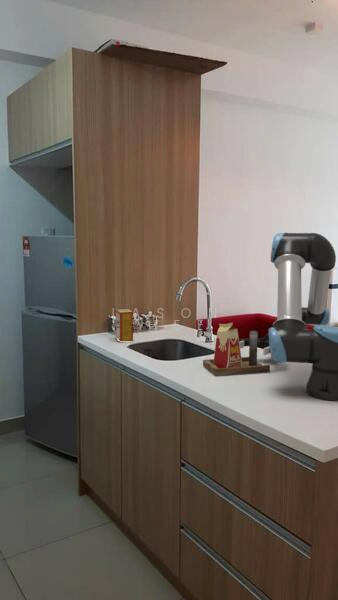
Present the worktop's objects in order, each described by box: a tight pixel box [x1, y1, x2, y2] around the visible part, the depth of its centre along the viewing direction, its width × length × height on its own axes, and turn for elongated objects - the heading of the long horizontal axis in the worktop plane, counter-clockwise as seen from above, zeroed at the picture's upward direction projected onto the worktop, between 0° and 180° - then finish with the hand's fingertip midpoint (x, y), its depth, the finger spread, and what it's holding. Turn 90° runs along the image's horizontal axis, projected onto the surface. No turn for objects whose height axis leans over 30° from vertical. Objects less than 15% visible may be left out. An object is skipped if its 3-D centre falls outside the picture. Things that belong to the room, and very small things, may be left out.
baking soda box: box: [115, 308, 134, 342], centre depth 247 cm, size 10×6×16 cm
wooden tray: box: [202, 330, 271, 377], centre depth 196 cm, size 15×23×15 cm, turn 105°
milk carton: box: [213, 322, 243, 368], centre depth 194 cm, size 9×9×20 cm
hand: (249, 349), depth 195 cm, fingers open, 13 cm apart
